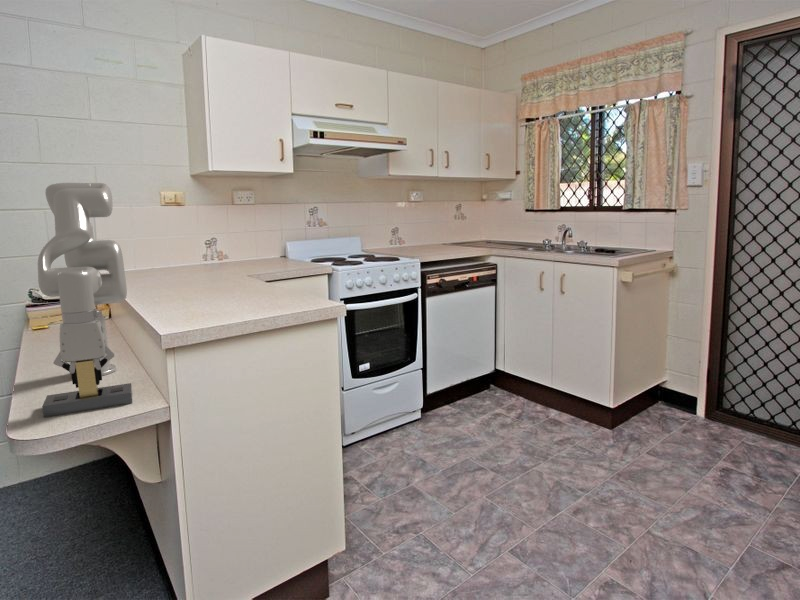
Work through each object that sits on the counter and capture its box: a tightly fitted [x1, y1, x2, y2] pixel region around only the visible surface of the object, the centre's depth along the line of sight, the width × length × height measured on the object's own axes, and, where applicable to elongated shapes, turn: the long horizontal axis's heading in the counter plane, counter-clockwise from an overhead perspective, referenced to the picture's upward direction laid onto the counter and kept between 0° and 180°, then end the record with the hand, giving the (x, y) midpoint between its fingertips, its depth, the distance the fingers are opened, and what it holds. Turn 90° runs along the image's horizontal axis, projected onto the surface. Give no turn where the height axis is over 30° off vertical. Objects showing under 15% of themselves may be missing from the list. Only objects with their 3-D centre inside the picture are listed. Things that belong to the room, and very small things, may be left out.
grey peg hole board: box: [41, 382, 133, 419], centre depth 141 cm, size 9×20×3 cm, turn 117°
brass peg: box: [75, 359, 99, 399], centre depth 139 cm, size 4×4×10 cm
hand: (87, 384), depth 140 cm, fingers closed on brass peg, 4 cm apart
